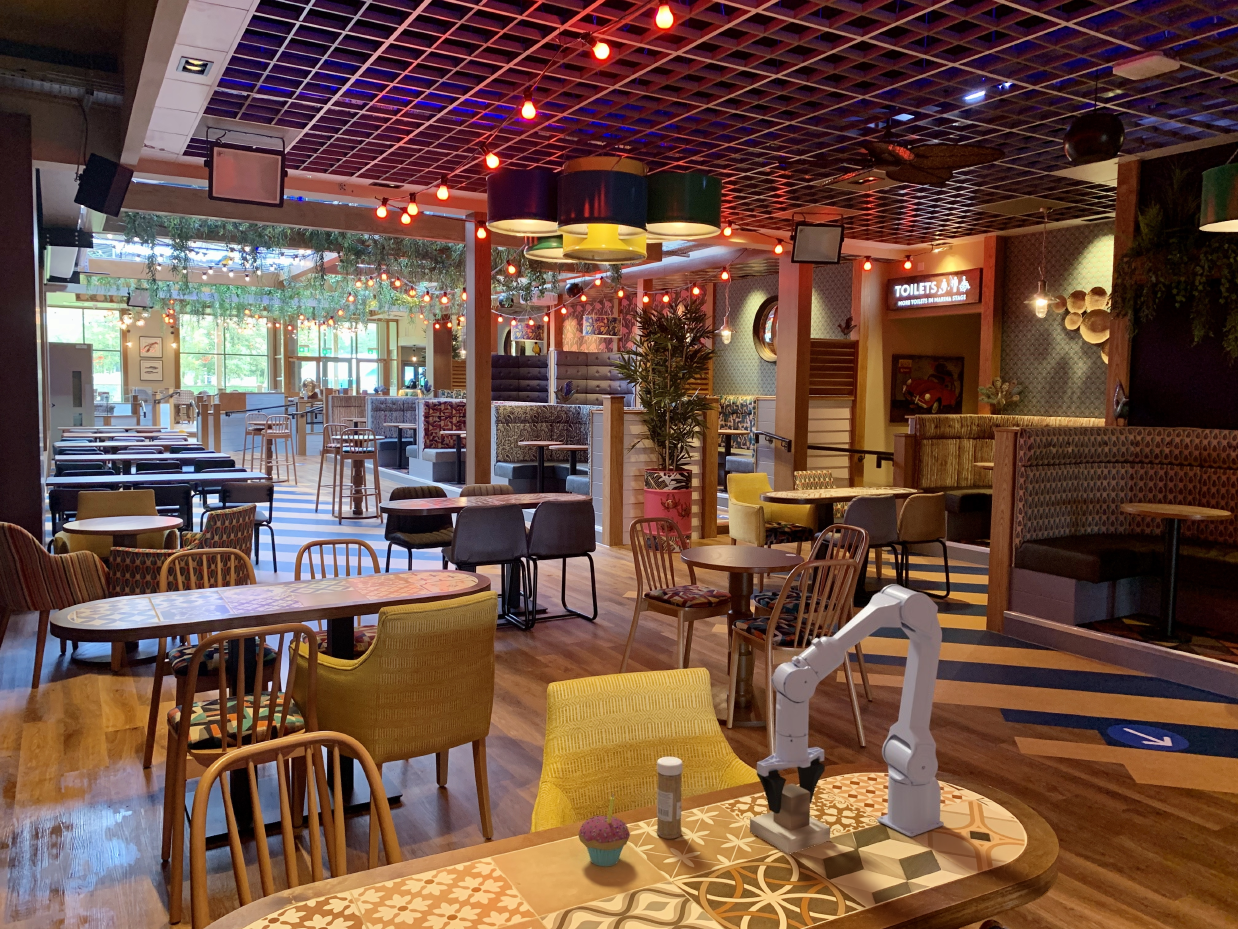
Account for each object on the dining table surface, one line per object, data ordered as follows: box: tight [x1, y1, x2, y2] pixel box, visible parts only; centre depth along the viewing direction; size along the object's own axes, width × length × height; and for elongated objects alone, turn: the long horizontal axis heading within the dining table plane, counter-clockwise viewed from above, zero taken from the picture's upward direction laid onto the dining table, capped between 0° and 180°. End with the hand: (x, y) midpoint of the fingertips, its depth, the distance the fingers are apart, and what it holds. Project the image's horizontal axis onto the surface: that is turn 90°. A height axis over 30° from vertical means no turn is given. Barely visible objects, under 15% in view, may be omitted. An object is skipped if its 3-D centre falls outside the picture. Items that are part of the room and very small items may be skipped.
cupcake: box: [578, 793, 631, 867], centre depth 152 cm, size 9×8×12 cm
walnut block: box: [773, 782, 811, 831], centre depth 162 cm, size 4×4×6 cm
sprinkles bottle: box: [656, 756, 684, 840], centre depth 162 cm, size 5×5×13 cm
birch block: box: [749, 811, 831, 855], centre depth 162 cm, size 10×10×3 cm
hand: (790, 806), depth 162 cm, fingers open, 7 cm apart
